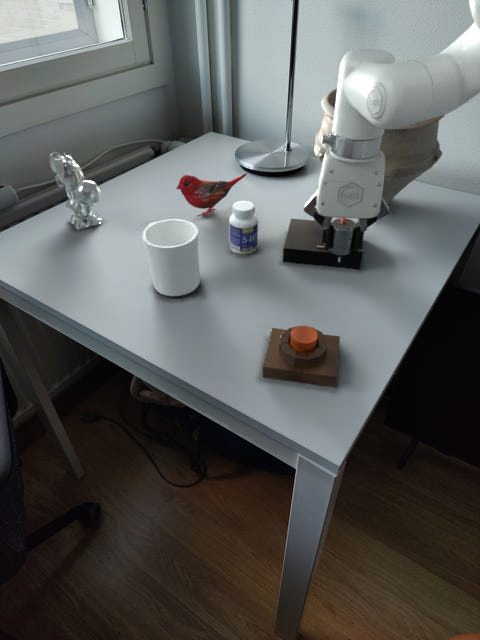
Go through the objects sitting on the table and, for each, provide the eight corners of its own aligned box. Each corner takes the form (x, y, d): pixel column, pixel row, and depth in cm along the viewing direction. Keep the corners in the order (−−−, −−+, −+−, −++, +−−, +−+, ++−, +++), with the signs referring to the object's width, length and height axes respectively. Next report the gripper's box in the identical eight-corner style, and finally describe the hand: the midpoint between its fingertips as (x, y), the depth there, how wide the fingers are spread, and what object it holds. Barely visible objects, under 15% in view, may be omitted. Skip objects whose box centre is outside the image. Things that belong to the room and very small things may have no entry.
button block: (338, 346, 68) (341, 326, 66) (335, 387, 62) (339, 367, 60) (271, 338, 70) (272, 318, 67) (262, 377, 64) (262, 357, 61)
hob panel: (361, 238, 91) (364, 223, 89) (361, 278, 81) (364, 263, 79) (290, 231, 93) (290, 217, 91) (280, 270, 83) (281, 255, 81)
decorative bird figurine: (176, 221, 97) (170, 176, 90) (243, 197, 105) (242, 153, 98) (183, 227, 95) (178, 181, 89) (251, 201, 103) (251, 158, 96)
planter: (434, 192, 105) (464, 87, 90) (412, 244, 89) (444, 126, 74) (329, 172, 114) (341, 74, 99) (292, 216, 98) (299, 106, 83)
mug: (212, 285, 80) (209, 233, 73) (170, 307, 76) (162, 254, 69) (176, 259, 86) (169, 209, 80) (135, 278, 82) (124, 227, 75)
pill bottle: (244, 258, 86) (244, 215, 80) (224, 248, 89) (222, 206, 83) (263, 246, 89) (264, 204, 83) (243, 237, 92) (242, 196, 86)
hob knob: (353, 255, 81) (357, 229, 77) (328, 254, 81) (332, 228, 78) (351, 242, 84) (355, 216, 80) (327, 242, 84) (331, 216, 81)
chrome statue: (117, 233, 94) (101, 161, 84) (89, 243, 91) (69, 170, 81) (86, 206, 102) (68, 138, 92) (59, 215, 100) (38, 146, 90)
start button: (317, 336, 65) (318, 327, 64) (315, 354, 62) (316, 345, 61) (291, 333, 65) (292, 323, 64) (288, 350, 63) (289, 341, 62)
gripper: (300, 151, 68) (292, 256, 80) (417, 155, 67) (391, 260, 79) (300, 133, 74) (293, 233, 86) (408, 136, 72) (386, 237, 84)
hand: (340, 245), depth 82 cm, fingers closed on hob knob, 4 cm apart
